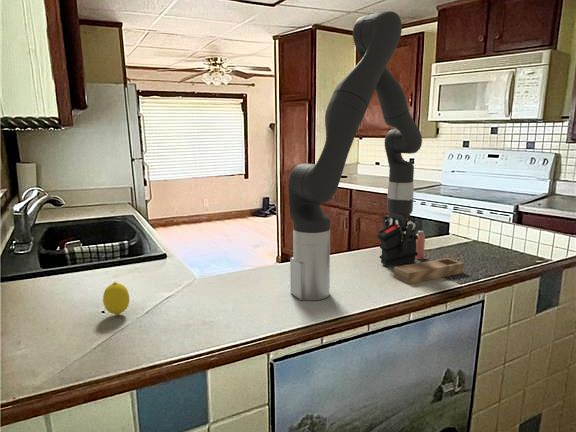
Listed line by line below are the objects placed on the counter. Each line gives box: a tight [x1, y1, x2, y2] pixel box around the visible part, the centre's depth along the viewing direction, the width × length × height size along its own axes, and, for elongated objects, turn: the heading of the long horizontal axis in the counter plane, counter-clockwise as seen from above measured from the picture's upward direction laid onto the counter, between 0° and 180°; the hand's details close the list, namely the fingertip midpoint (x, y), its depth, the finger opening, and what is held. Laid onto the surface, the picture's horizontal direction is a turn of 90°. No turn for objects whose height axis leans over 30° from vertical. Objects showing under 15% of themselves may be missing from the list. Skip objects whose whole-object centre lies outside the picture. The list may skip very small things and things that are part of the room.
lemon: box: [102, 281, 130, 316], centre depth 96 cm, size 6×6×8 cm
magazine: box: [376, 217, 418, 267], centre depth 131 cm, size 4×13×15 cm, turn 105°
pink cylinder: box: [415, 230, 426, 260], centre depth 137 cm, size 3×3×9 cm
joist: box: [393, 257, 465, 285], centre depth 122 cm, size 20×6×3 cm, turn 115°
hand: (397, 251), depth 130 cm, fingers closed on magazine, 4 cm apart
